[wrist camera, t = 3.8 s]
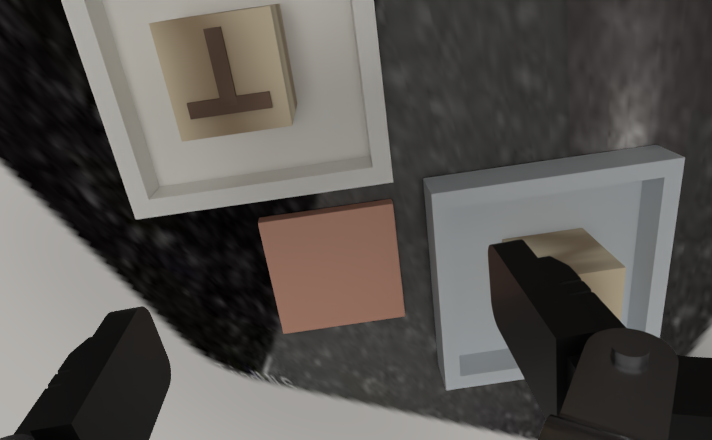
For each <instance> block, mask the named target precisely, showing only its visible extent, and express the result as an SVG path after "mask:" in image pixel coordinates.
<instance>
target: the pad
mask: <svg viewBox="0 0 712 440" xmlns="http://www.w3.org/2000/svg"><path fill="white" fill-rule="evenodd" d="M258 226H259V231H260V235H261V239H262V243H263V248H264V252H265V256H266V261H267V265H268V269H269V274H270V278H271V282H272V286H273V291H274V295H275V299H276V304H277V308H278V312H279V317H280V321H281V325H282V329H283V334H286V333H293V332H300V331H307V330H314V329H321V328H328V327H335V326H341V325H348V324H355V323H362V322H369V321H376V320H383V319H390V318H397V317H404V316H405V310H404V300H403V291H402V282H401V273H400V264H399V255H398V246H397V237H396V228H395V219H394V209H393V203H392V200H391V199H386V200H379V201H372V202H365V203H358V204H351V205H344V206H337V207H330V208H323V209H316V210H309V211H303V212H296V213H289V214H282V215H275V216H268V217H261V218H259V221H258Z"/></svg>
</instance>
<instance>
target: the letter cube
mask: <svg viewBox="0 0 712 440" xmlns="http://www.w3.org/2000/svg"><path fill="white" fill-rule="evenodd" d="M149 26H150V30H151V33H152V37H153V40H154V44H155V47H156V51H157V55H158V58H159V62H160V65H161V69H162V72H163V76H164V80H165V83H166V87H167V90H168V94H169V97H170V101H171V105H172V108H173V112H174V115H175V119H176V122H177V126H178V130H179V133H180V137H181V140H182V142H183V141H190V140H197V139H204V138H211V137H218V136H225V135H232V134H239V133H246V132H253V131H259V130H266V129H273V128H280V127H287V126H292V125H293V121H294V116H295V112H296V107H297V99H296V93H295V87H294V82H293V76H292V70H291V65H290V59H289V54H288V48H287V42H286V37H285V31H284V26H283V20H282V14H281V9H280V3H279V4H272V5H265V6H258V7H251V8H245V9H238V10H231V11H224V12H217V13H210V14H203V15H196V16H189V17H182V18H176V19H171V20H165V21H159V22H154V23H149Z"/></svg>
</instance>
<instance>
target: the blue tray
mask: <svg viewBox="0 0 712 440" xmlns="http://www.w3.org/2000/svg"><path fill="white" fill-rule="evenodd" d="M684 161H685V157H683V156H681V155H678V154H676V153H674V152H672V151H670V150H667V149H665V148H663V147H661V146H659V145H650V146H643V147H636V148H629V149H623V150H616V151H609V152H602V153H595V154H588V155H581V156H574V157H567V158H560V159H553V160H546V161H539V162H533V163H526V164H519V165H512V166H505V167H498V168H491V169H484V170H477V171H470V172H463V173H456V174H450V175H443V176H436V177H429V178H423V186H424V198H425V210H426V222H427V235H428V247H429V259H430V271H431V284H432V296H433V308H434V320H435V333H436V345H437V357H438V366H439V369H440V372H441V375H442V378H443V382H444V385H445V388H446V390H452V389H459V388H466V387H473V386H480V385H487V384H494V383H500V382H507V381H514V380H521V379H525V378H524V376H523V375H522V373H521V371H520V369H519V367H518V365H517V363H516V361H515V359H514V358H513V356H512V354H511V352H510V350H509V348H508V346H507V344H506V343H505V341H504V339H503V337H502V335H501V333H500V331H499V329H498V327H497V325H496V322H495V319H494V315H493V311H492V305H491V294H490V279H489V265H488V247H489V245H491V244H497V243H502V239H508V238H515V237H522V236H529V235H535V234H542V233H549V232H556V231H563V230H570V229H577V228H583V229H584V230H585V231H586V232H588V233H589V234H590V235H591V236H592V237H593V238H594V239H595V240H596V241H597V242H599V243H600V244H601V245H602V246H603V247H604V248H605V249H606V250H607V251H608V252H610V253H611V254H612V255H613V256H614V257H615V258H616V259H617V260H618V261H620V262H621V263H622V264H623V265H624V266H625V267H626V273H625V283H624V293H623V303H622V313H621V323H622V324H623V325H624V326H625V327H626V328H629V329H636V330H640V331H644V332H647V333H650V334H652V335H654V336H656V337H658V338H660V331H661V324H662V317H663V310H664V303H665V296H666V289H667V282H668V275H669V268H670V261H671V253H672V246H673V239H674V232H675V225H676V218H677V211H678V204H679V197H680V190H681V183H682V176H683V168H684Z"/></svg>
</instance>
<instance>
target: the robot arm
mask: <svg viewBox="0 0 712 440" xmlns="http://www.w3.org/2000/svg"><path fill="white" fill-rule="evenodd" d="M488 265H489V279H490V294H491V305H492V311H493V315H494V319H495V322H496V325H497V327H498V329H499V331H500V333H501V335H502V337H503V339H504V341H505V343H506V344H507V346H508V348H509V350H510V352H511V354H512V356H513V358H514V359H515V361H516V363H517V365H518V367H519V369H520V371H521V373H522V375H523V376H524V378H525V380H526V382H527V384H528V386H529V388H530V390H531V391H532V393H533V395H534V397H535V399H536V401H537V403H538V405H539V407H540V408H541V410H542V412H543V414H544V416H545V418H546V421H545V423H544V426H543V428H542V431H541V433H540V436H539V438H538V440H712V358H701V357H687V356H679V355H677V354H676V353H675V351H674V350H673V348H672V347H671V346H670V345H669V344H667V343H666V342H665V341H663V340H662V339H660V338H658V337H656V336H654V335H652V334H650V333H647V332H644V331H640V330H636V329H629V328H626V327H625V326H624V325H623V324H622V323H621V321H620V320H619V319H618V318H617V317H616V316H615V315H614V314H613V313H612V312H611V311H610V309H609V308H608V307H607V306H606V305H605V304H604V303H603V302H602V301H601V300H600V299H599V297H598V296H597V295H596V294H595V293H594V292H591V289H590V288H589V287H588V285H587V284H586V283H585V282H584V281H581V278H580V277H579V276H578V274H577V273H576V272H575V271H574V270H573V269H572V268H571V267H570V266H569V265H567V264H565V263H563V262H561V261H559V260H557V259H555V258H553V257H551V256H546V257H540V258H538V257H537V256H536V255H535V254H534V252H533V251H532V250H531V249H530V247H529V246H528V245H527V244H526V243H525V241H524V240H522V239H519V240H513V241H508V242H502V243H497V244H491V245H489V247H488ZM170 380H171V368H170V363H169V359H168V356H167V354H166V351H165V349H164V347H163V344H162V342H161V339H160V336H159V334H158V332H157V329H156V327H155V324H154V322H153V319H152V317H151V314H150V312H149V311H148V310H147V309H146V308H145V307H137V308H131V309H125V310H120V311H114V312H110V313H108V315H107V316H106V317H105V318H104V320H103V322H102V323H101V324H100V326H99V328H98V329H97V331H96V332H95V334H94V335H93V337H90V338H88V339H87V340H85V341H84V342H83V343H82V344H81V345H79V346H78V347H77V348H76V349H75V350H74V351H73V352H71V353H70V354H69V355H68V357H67V358H66V360H65V361H64V363H63V364H62V366H61V367H60V369H59V370H58V374H55V376H54V377H53V379H52V380H51V382H50V383H49V384H48V388H47V389H45V390H44V391H43V393H42V395H41V396H40V397H39V399H38V400H37V402H36V403H35V405H34V406H33V407H32V409H31V410H30V412H29V413H28V414H27V416H26V417H25V419H24V420H23V422H22V423H21V425H20V426H19V427H18V429H17V430H16V432H15V433H14V435H10V436H6V437H3V438H0V440H149V438H150V435H151V433H152V430H153V427H154V425H155V422H156V419H157V417H158V414H159V412H160V409H161V406H162V404H163V401H164V399H165V396H166V393H167V391H168V388H169V385H170Z"/></svg>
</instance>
